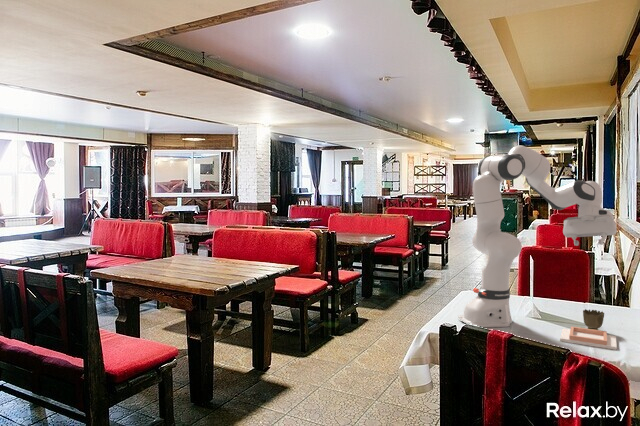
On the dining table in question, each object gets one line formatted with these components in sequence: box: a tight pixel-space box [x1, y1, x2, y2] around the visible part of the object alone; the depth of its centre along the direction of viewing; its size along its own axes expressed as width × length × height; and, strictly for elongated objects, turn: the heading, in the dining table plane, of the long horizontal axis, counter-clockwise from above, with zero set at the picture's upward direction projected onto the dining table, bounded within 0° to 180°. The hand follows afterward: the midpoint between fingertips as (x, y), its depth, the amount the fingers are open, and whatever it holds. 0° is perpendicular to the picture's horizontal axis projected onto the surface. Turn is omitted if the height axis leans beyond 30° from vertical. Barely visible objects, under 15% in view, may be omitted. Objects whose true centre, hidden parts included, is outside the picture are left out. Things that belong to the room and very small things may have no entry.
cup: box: [582, 309, 605, 330], centre depth 184 cm, size 8×7×8 cm
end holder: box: [559, 325, 618, 351], centre depth 174 cm, size 13×18×2 cm
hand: (588, 244), depth 197 cm, fingers open, 8 cm apart
